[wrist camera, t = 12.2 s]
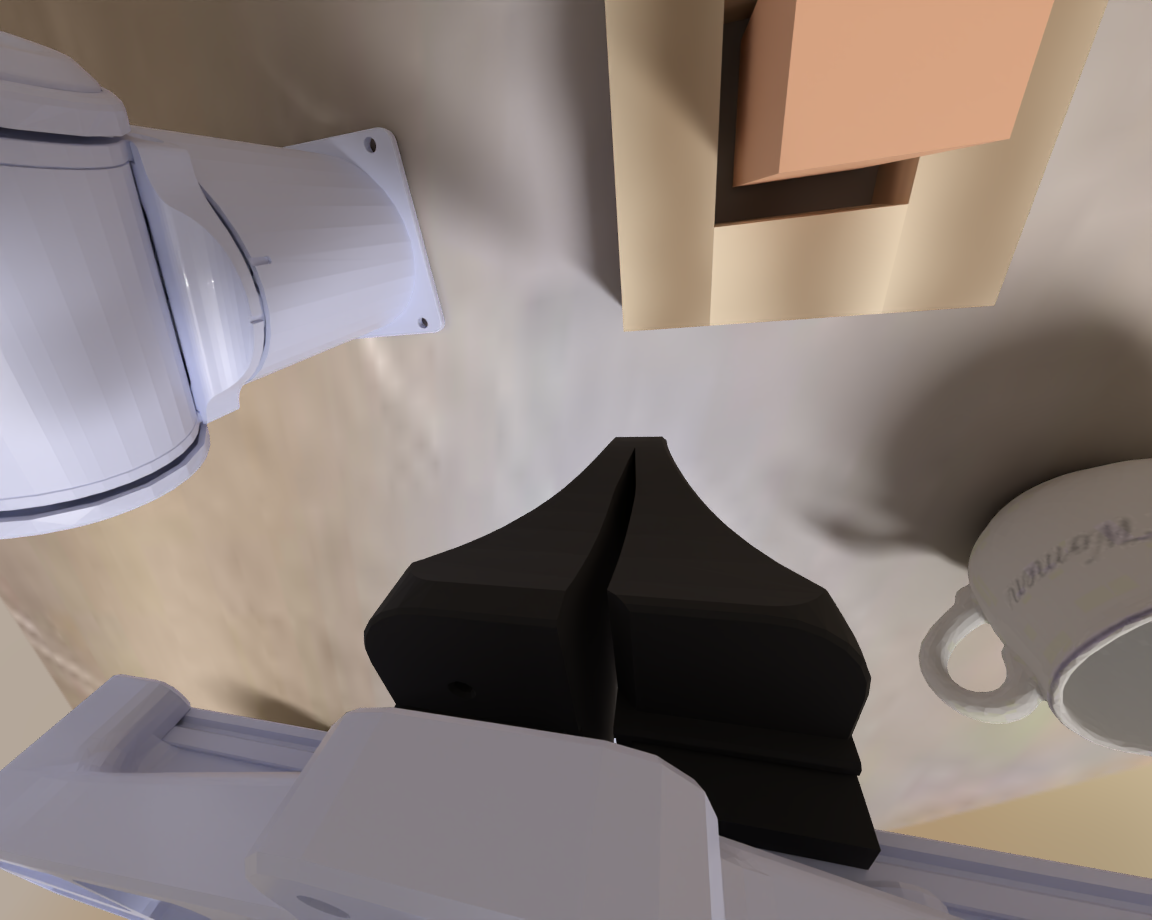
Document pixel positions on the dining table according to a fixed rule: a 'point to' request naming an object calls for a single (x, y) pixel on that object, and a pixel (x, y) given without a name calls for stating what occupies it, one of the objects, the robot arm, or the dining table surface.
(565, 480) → the dining table surface
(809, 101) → the terracotta peg
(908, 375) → the dining table surface
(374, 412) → the dining table surface
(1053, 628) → the teacup
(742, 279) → the birch socket block
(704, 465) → the dining table surface
